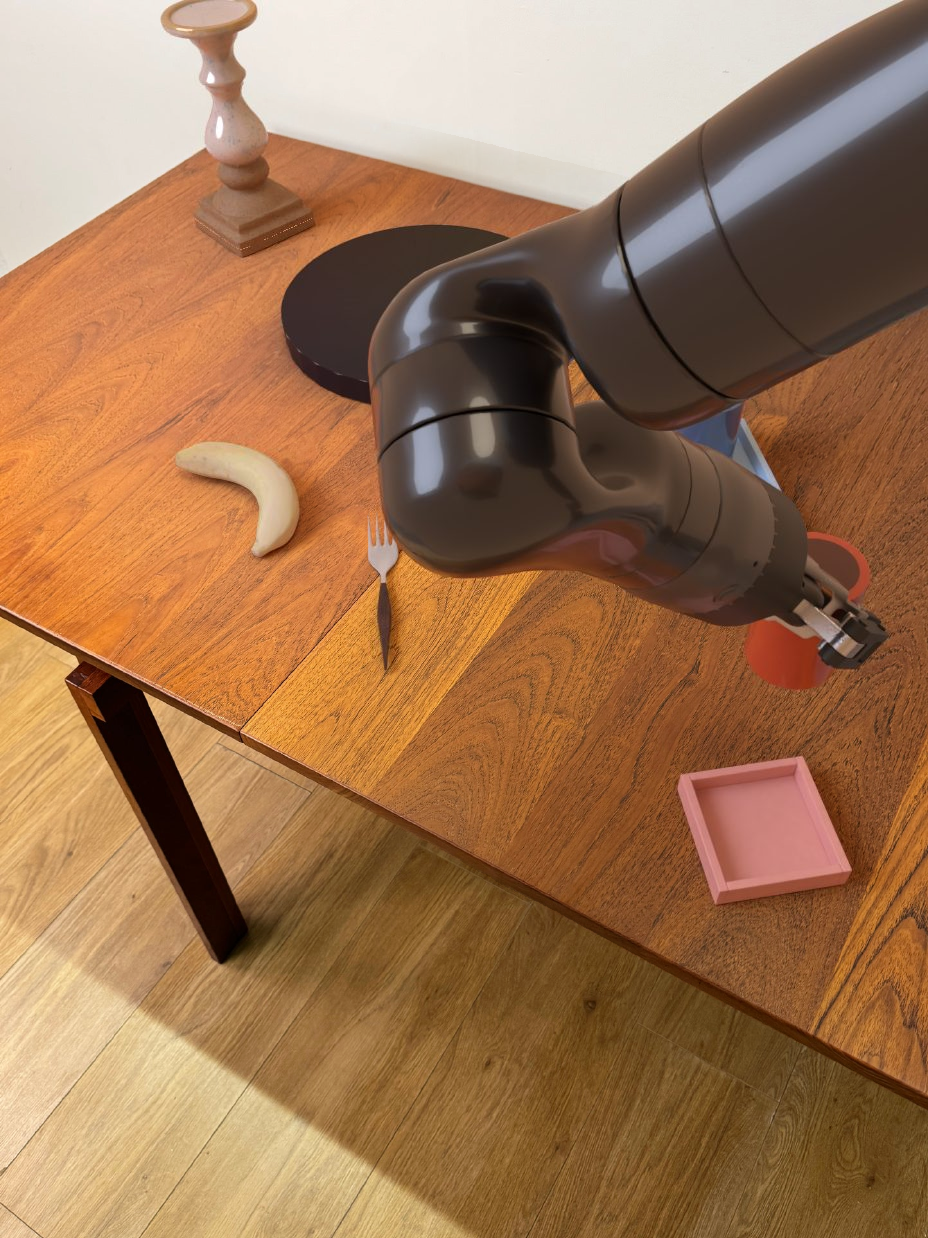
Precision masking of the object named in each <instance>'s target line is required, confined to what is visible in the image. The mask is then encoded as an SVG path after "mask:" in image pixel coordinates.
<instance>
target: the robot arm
mask: <svg viewBox="0 0 928 1238" xmlns="http://www.w3.org/2000/svg"><path fill="white" fill-rule="evenodd" d="M509 238H510V239H508V240H506V241H503V242H500V243H498V244H495V245H492V246H490V247H487V248H484V249H482V250H479V251H476V252H474V253H471V254H468V255H466V256H463V257H460V258H458V259H455V260H452V261H449V262H447V263H444V264H441V265H439V266H437V267H435V268H432V269H430V270H428V271H426V272H424V273H422V274H421V275H419V276H418V277H416V278H415V279H413V280H412V281H410V282H409V283H408V284H407V285H406V286H405V287H404V288H403V289H402V290H400V292H399V293H398V294H397V295H396V296H395V297H394V299H393V300H392V301H391V302H390V304H389V305H388V307H387V308H386V310H385V311H384V313H383V314H382V316H381V318H380V320H379V322H378V323H377V326H376V328H375V330H374V333H373V335H372V338H371V342H370V346H369V355H368V376H369V386H370V396H371V404H370V406H371V415H372V417H371V418H372V424H373V435H374V445H375V446H374V447H375V457H376V464H377V481H378V491H379V498H380V499H379V500H380V507H381V509H380V510H381V514H382V517H383V522H384V521H385V524H386V526H387V532H388V534H389V535H390V536H391V538H392V540H393V539H394V541H395V542H396V544H397V547H398V548H399V549H401V551H402V552H403V553H404V554H405V555H406V556H407V557H408V558H410V559H411V560H412V561H413V562H414V563H415V564H417V565H418V566H420V567H422V568H423V569H425V570H427V571H428V572H431V573H432V574H435V575H437V576H440V577H445V578H451V579H458V580H468V579H469V580H470V579H487V578H493V577H501V576H506V575H512V574H519V573H524V572H525V573H527V572H537V571H539V572H540V571H541V572H542V571H560V572H561V571H563V572H564V571H566V572H580V573H582V574H584V575H587V576H591V577H593V578H595V579H599V580H602V581H604V582H607V583H610V584H612V585H615V586H617V587H619V588H620V589H622V590H624V591H625V592H627V593H628V594H630V595H632V596H634V597H635V598H638V599H639V600H642V601H645V602H647V603H649V604H652V605H655V606H657V607H660V608H664V609H666V610H668V611H672V612H675V613H678V614H681V615H683V616H686V617H689V618H692V619H695V620H697V621H701V622H704V623H706V624H710V625H713V626H718V627H741V626H746V625H750V623H753V622H756V621H759V620H762V619H764V620H766V621H776V622H778V623H779V624H781V625H782V626H784V627H786V628H787V629H789V630H790V631H792V632H794V633H795V634H797V635H798V636H800V637H802V638H804V639H808V638H810V637H812V636H817V637H819V638H820V639H822V641H821V642H820V643H819V644H818V645H817V646H816V647H817V649H818V650H819V651H818V652H817V653H818V655H819V656H820V657H821V658H822V659H821V660H822V662H823V663H825V664H826V665H827V666H832V667H833V668H835V670H859V668H861V666H863V664H865V663H866V661H868V659H869V658H870V657H871V656H872V655H873V654H874V653H875V652H876V651H877V650H878V649H879V648H880V647H881V646H882V645H883V644H884V643H885V642H886V641H887V640H888V639H889V638H890V637H891V635H890V634H889V633H888V632H887V628H886V626H884V625H882V620H881V619H880V618H879V617H878V616H877V615H875V614H874V613H873V612H871V611H869V610H867V609H866V608H865V607H863V606H862V604H861V605H860V604H857V605H856V604H855V603H853V602H852V601H850V600H849V599H848V597H849V592H848V590H847V589H846V588H844V587H843V586H842V585H841V584H840V583H839V582H838V581H837V580H836V579H835V578H834V577H832V576H831V575H829V574H828V573H826V572H825V571H823V570H822V569H821V568H819V565H818V564H817V563H816V562H815V561H814V560H813V559H812V558H811V557H810V556H809V555H808V536H807V532H808V531H807V526H806V524H805V520H804V518H803V516H802V513H801V512H800V510H799V508H798V507H797V505H796V504H795V502H793V500H792V499H791V498H790V497H789V496H788V495H787V494H786V493H784V492H783V490H781V491H780V490H779V489H777V488H776V487H774V486H773V485H771V484H769V483H768V482H766V481H765V480H763V479H762V478H760V477H759V476H757V475H755V474H754V473H752V472H751V471H749V470H747V469H746V468H744V467H743V466H741V465H740V464H738V463H737V462H735V461H733V460H732V459H730V458H729V457H727V456H726V455H724V454H722V453H721V452H719V451H717V450H715V449H713V448H711V447H708V446H706V445H703V444H700V443H697V442H693V441H691V440H690V439H688V438H686V437H685V436H683V435H682V434H680V433H679V432H677V431H675V430H679V429H683V428H687V427H690V426H692V425H695V424H698V423H700V422H703V421H706V420H708V419H710V418H712V417H714V416H717V415H719V414H721V413H723V412H725V411H727V410H729V409H731V408H733V407H735V406H737V405H739V404H741V403H742V402H744V401H745V402H747V401H749V400H750V399H751V398H754V397H756V396H759V395H760V394H762V393H764V392H765V391H767V390H770V389H771V388H773V387H775V386H777V385H780V384H782V383H783V382H785V381H787V380H789V379H791V378H793V377H795V376H796V375H799V374H801V373H802V372H805V371H806V370H808V369H811V368H813V367H814V366H816V365H818V364H820V363H822V362H824V361H826V360H828V359H830V358H832V357H834V356H836V355H838V354H840V353H842V352H844V351H847V350H848V349H850V348H852V347H854V346H856V345H857V344H859V343H861V342H863V341H865V340H867V339H869V338H871V337H873V336H875V335H876V334H877V335H878V333H881V332H882V331H884V330H886V329H889V328H890V327H892V326H894V325H896V324H898V323H900V322H902V321H904V320H906V319H908V318H910V317H912V316H914V315H916V314H918V313H921V311H924V310H926V309H928V0H901V1H899V2H896V3H895V4H892V5H890V6H888V7H886V8H883V9H882V10H879V11H878V12H876V13H874V14H872V15H869V16H868V17H866V18H864V19H862V20H860V21H858V22H856V23H854V24H852V25H850V26H848V27H846V28H845V29H843V30H841V31H839V32H838V33H835V34H834V35H832V36H831V37H829V38H827V39H825V40H824V41H822V42H820V43H818V44H816V45H815V46H813V47H811V48H810V49H808V50H806V51H805V52H803V53H802V54H799V55H798V56H797V57H795V58H793V59H792V60H790V61H789V62H787V63H786V64H784V65H782V66H781V67H780V68H778V69H776V70H775V71H773V72H772V73H770V74H769V75H768V76H765V78H763V79H762V80H760V81H759V82H757V83H756V84H754V85H753V86H752V87H750V88H748V90H746V91H745V92H743V93H741V94H740V95H738V97H736V98H735V99H734V100H732V101H731V102H730V103H728V104H726V106H724V107H723V108H721V109H719V110H718V111H717V112H716V113H714V114H713V115H712V116H711V117H710V118H708V119H706V120H705V121H704V122H702V123H701V124H700V125H699V126H697V127H696V128H694V129H693V130H692V131H691V132H689V133H688V134H687V135H685V136H684V137H683V138H682V139H680V140H679V141H677V142H676V143H674V144H673V145H672V146H671V147H669V148H668V149H667V150H665V151H664V152H663V153H662V154H660V155H659V156H657V157H656V158H655V159H653V160H652V161H651V162H650V163H648V164H647V165H646V166H644V167H643V168H642V169H641V170H639V171H637V172H636V173H635V174H634V175H632V176H631V178H629V179H627V180H626V181H625V182H624V183H622V184H621V185H620V186H619V187H617V188H616V189H615V190H614V191H612V192H611V193H610V194H608V195H607V196H606V197H605V198H604V199H602V200H601V201H600V202H598V203H596V204H594V205H592V206H590V207H587V208H585V209H583V210H580V211H579V212H576V213H573V214H570V215H567V216H565V217H562V218H560V219H556V220H554V221H551V222H548V223H545V224H542V225H539V226H538V227H535V228H533V229H530V230H527V231H525V232H523V233H520V234H518V235H516V236H512V237H509ZM574 361H575V363H576V365H577V367H578V368H579V370H580V372H581V374H582V375H583V377H584V379H585V380H586V381H587V383H588V384H589V385H590V386H591V388H592V389H593V390H594V392H595V393H596V394H597V395H598V397H599V398H600V399H592V400H587V401H582V402H579V403H577V404H576V403H575V402H574V398H573V397H574V396H573V392H572V385H571V379H570V372H569V371H570V369H569V366H570V364H571V363H573V362H574ZM815 580H816V581H817V582H819V583H820V584H822V585H821V588H819V586H818V584H817V582H816V581H815ZM837 609H843V610H842V612H841V613H840V614H839V615H838V616H837V617H836V618H833V617H831V615H832V614H833V613H834V612H835V611H836V610H837Z"/></svg>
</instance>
